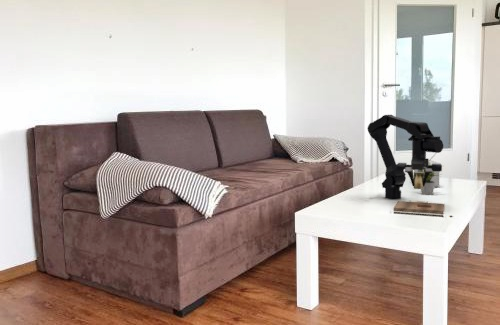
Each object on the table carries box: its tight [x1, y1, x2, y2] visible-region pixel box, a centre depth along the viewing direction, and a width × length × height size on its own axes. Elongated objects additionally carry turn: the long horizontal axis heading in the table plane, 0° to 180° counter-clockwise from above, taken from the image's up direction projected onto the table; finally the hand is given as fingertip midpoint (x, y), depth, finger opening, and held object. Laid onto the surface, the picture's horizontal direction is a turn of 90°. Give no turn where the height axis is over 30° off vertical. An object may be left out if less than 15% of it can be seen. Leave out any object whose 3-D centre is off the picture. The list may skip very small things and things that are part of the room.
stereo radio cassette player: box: [413, 152, 441, 188], centre depth 254 cm, size 21×8×20 cm, turn 178°
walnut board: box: [393, 200, 445, 218], centre depth 197 cm, size 19×23×3 cm
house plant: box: [420, 162, 443, 196], centre depth 227 cm, size 14×14×16 cm
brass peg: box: [413, 171, 424, 190], centre depth 202 cm, size 4×4×7 cm
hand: (418, 186), depth 203 cm, fingers closed on brass peg, 4 cm apart
